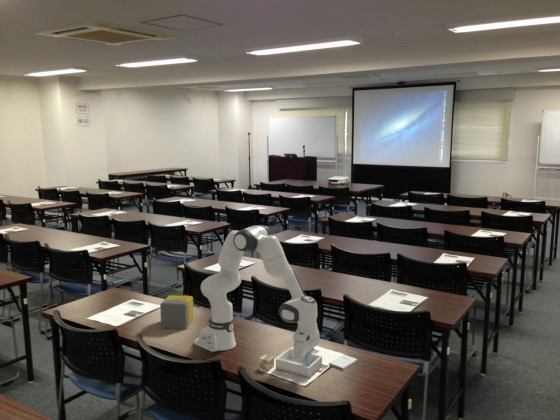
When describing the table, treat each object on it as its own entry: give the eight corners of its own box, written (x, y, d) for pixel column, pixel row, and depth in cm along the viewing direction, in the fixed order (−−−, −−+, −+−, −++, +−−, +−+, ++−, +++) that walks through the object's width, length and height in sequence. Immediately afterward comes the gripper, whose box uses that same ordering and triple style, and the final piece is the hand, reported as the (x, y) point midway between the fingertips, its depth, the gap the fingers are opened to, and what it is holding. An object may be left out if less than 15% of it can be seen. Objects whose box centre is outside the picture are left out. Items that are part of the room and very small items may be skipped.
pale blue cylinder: (299, 365, 216) (299, 351, 215) (304, 361, 220) (304, 347, 219) (309, 368, 214) (309, 353, 213) (314, 363, 218) (314, 349, 217)
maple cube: (259, 368, 219) (259, 358, 218) (265, 364, 223) (265, 354, 222) (268, 371, 216) (268, 360, 216) (274, 366, 221) (274, 356, 220)
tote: (275, 368, 218) (275, 358, 217) (289, 357, 230) (289, 347, 229) (309, 378, 209) (309, 368, 209) (321, 366, 221) (322, 356, 220)
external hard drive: (328, 365, 223) (343, 357, 232) (343, 371, 217) (357, 361, 226) (328, 362, 222) (343, 353, 232) (343, 367, 217) (357, 358, 226)
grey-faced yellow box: (198, 314, 288) (197, 290, 286) (186, 329, 264) (185, 304, 262) (174, 313, 289) (174, 290, 287) (160, 328, 265) (159, 303, 263)
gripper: (311, 322, 225) (310, 349, 227) (291, 337, 208) (290, 366, 210) (323, 325, 222) (322, 352, 224) (303, 340, 205) (303, 370, 207)
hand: (307, 359), depth 217 cm, fingers closed on pale blue cylinder, 5 cm apart
